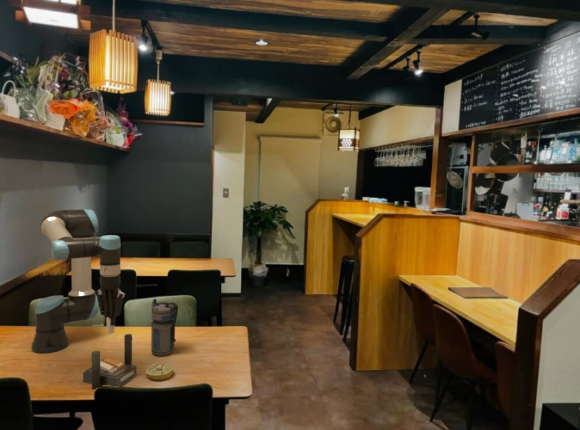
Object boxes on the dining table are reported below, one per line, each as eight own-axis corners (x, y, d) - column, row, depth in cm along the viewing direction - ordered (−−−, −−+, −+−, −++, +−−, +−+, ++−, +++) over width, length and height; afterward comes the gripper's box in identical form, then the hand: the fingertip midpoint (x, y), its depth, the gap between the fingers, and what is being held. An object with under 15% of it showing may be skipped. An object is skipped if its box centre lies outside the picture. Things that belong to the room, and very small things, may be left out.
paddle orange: (103, 362, 170) (104, 359, 170) (108, 359, 173) (108, 357, 172) (118, 369, 168) (119, 366, 168) (123, 366, 171) (124, 363, 170)
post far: (122, 367, 178) (122, 336, 177) (127, 365, 181) (127, 333, 180) (128, 369, 177) (128, 337, 176) (133, 366, 180) (133, 334, 179)
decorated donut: (156, 368, 179) (156, 360, 179) (178, 373, 176) (178, 364, 176) (140, 379, 169) (141, 370, 169) (163, 384, 166) (163, 374, 166)
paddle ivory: (96, 366, 166) (96, 363, 166) (101, 363, 169) (101, 360, 169) (112, 373, 164) (112, 370, 164) (116, 370, 167) (117, 367, 167)
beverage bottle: (170, 359, 188) (171, 305, 186) (145, 354, 192) (145, 301, 190) (182, 350, 198) (183, 299, 196) (158, 346, 202) (158, 295, 199)
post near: (89, 388, 160) (89, 353, 159) (95, 385, 163) (95, 350, 162) (96, 390, 159) (96, 354, 158) (102, 386, 162) (101, 351, 161)
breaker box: (82, 381, 165) (82, 369, 165) (104, 368, 177) (104, 357, 176) (117, 388, 161) (117, 376, 160) (137, 375, 172) (137, 363, 172)
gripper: (89, 275, 163) (90, 334, 165) (117, 278, 160) (117, 338, 161) (103, 271, 171) (103, 327, 172) (130, 274, 167) (130, 331, 169)
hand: (110, 332), depth 167 cm, fingers closed
